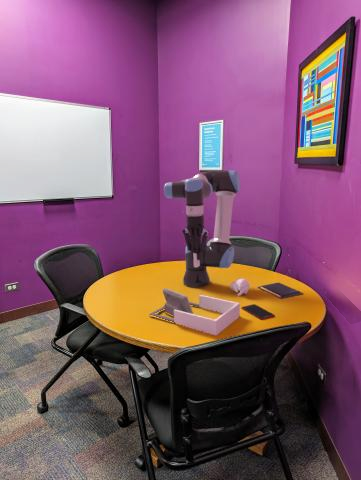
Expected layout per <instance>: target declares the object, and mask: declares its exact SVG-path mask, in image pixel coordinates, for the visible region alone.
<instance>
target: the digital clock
mask: <svg viewBox="0 0 361 480" xmlns="http://www.w3.org/2000/svg"><path fill="white" fill-rule="evenodd" d="M162 289H163V290H162V294H163V296H164V299H165V302H164V306H165V310H164V313H165V312H167V313H169V314H171V315H173V316H174V310H179V311H183V312H187V313H191V314H194V312H193V309H192V306H190V303H189V302H190V300H189V297H188V296H187V295H185V294H182V293H180V292H178V291H174V290H171V289H170V288H162Z"/></svg>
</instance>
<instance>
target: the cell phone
mask: <svg viewBox="0 0 361 480" xmlns="http://www.w3.org/2000/svg"><path fill="white" fill-rule="evenodd" d="M241 309H242V311H244V312H247V313H248V314H249V315H252V316H253V317H255V318H256V319H258V320H260V321H264V320H265V321H266V320H268V319H272V318H275V317H276V316H275V314H274V313H272V312H270V311H268V310H266V309H265V308H262V307H260V306H259V305H257V304H249V305H244V306H241Z"/></svg>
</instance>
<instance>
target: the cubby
mask: <svg viewBox="0 0 361 480" xmlns="http://www.w3.org/2000/svg"><path fill="white" fill-rule="evenodd" d="M198 301H199V302H198V304H199V307H202V308H201V309H203V308H206V309H205V310H207V309H210V310H209V311H211V310H213V312H216V311H217V312H216V313H220V314H221V315H219V316H218V317H216V318H215V319H214V318H210V317H205V316H202V315H200V314H199V315H198V314H195V313H193V314H191V313H187V312H183V311H179V310H174V317H173V319H174V322H175V323H178V324H181V325H184V326H187V327H190V328H189V329H191V328H193V329H192V330H194V329H196V330H195V331H198V330H199V331H198V332H201V331H203V332H202V333H205V334H208V333H209V335H213V336H218V335H219V334H220V333H221V332H222V331H224V329H227V327H229V326H230V325H231V324H233V322H234V321H236V320H237V319H238V318H239V317H240V316H241V315H240V314H241V313H240V309H241V307H240V306H241V305H240V302H236V301H230V300H227V299H221V298H217V297H213V296H207V295H204V294H203V295H202V294H199V296H198ZM199 307H198V308H199ZM184 326H183V327H184ZM187 327H186V328H187Z"/></svg>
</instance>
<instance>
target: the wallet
mask: <svg viewBox="0 0 361 480" xmlns="http://www.w3.org/2000/svg"><path fill="white" fill-rule="evenodd" d="M256 288H258V289H259V290H262V291H263V292H266V293H268V294H270V295H271V296H274V297H275V298H278V299H280V300H284V299H289V298H295V297H298V296H303V295H304V293H303V292H301V291H300V290H297V289H296V288H292V287H291V286H288V285H285V284H284V283H281V282H278V281H277V282H274V283H270V284H264V285H263V284H262V285H260V286H256Z"/></svg>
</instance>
